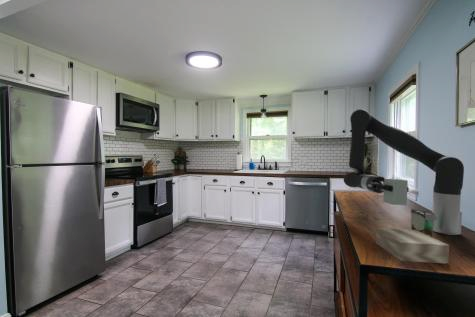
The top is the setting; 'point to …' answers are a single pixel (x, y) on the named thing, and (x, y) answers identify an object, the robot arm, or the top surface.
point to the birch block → (412, 245)
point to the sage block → (396, 192)
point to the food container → (422, 221)
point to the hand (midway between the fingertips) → (399, 189)
